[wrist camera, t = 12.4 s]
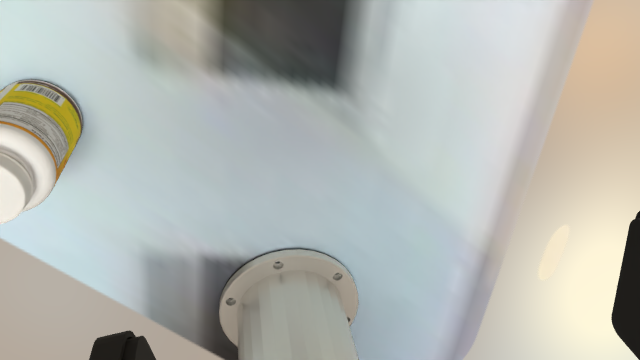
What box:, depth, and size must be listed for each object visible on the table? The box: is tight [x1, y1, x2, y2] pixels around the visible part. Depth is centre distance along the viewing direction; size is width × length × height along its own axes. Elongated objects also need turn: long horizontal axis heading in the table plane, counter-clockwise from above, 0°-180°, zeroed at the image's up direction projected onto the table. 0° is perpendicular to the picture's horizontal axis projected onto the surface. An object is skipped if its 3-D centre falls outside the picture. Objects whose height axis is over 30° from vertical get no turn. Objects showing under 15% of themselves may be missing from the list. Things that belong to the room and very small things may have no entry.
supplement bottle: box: [0, 80, 83, 224], centre depth 31 cm, size 6×6×10 cm
